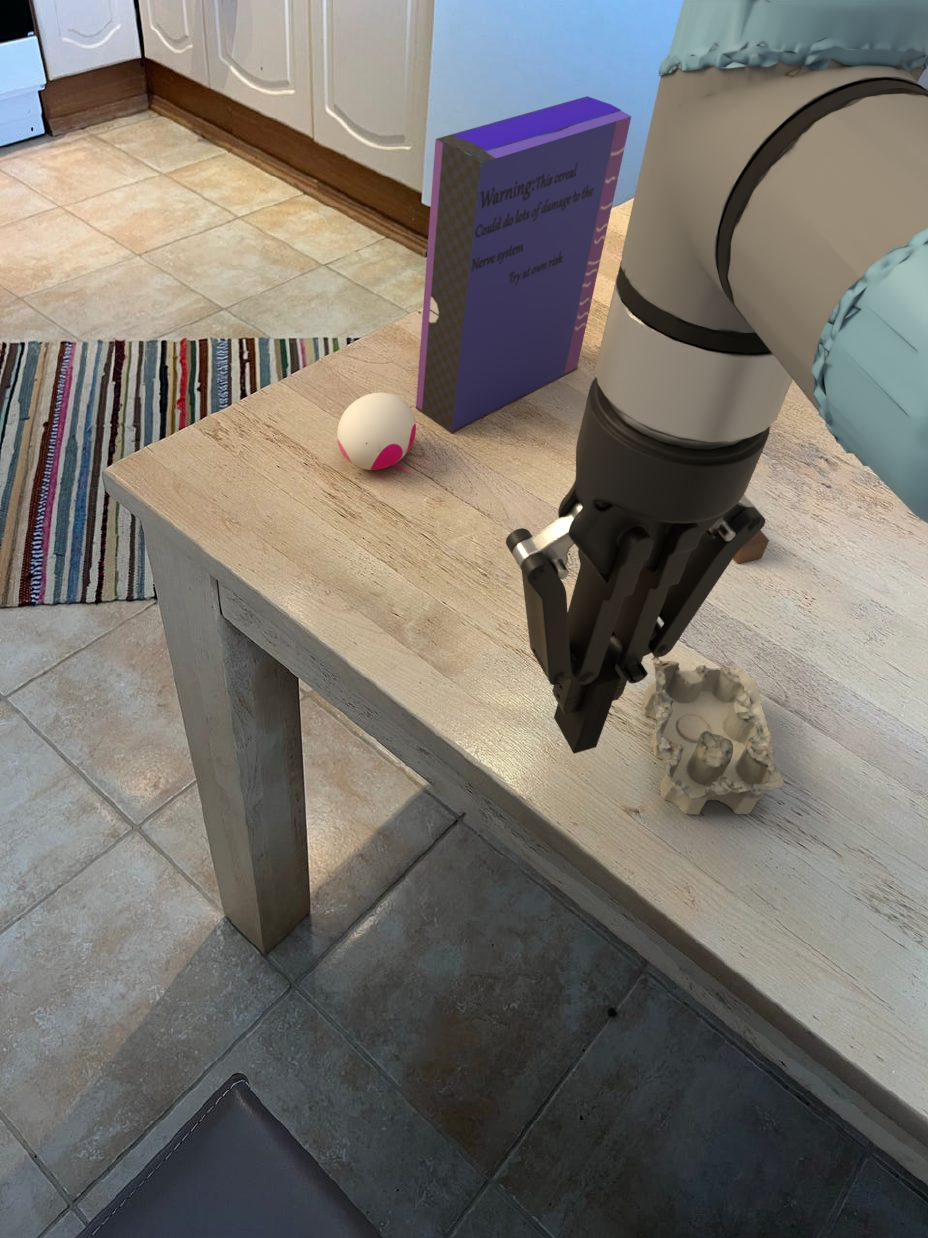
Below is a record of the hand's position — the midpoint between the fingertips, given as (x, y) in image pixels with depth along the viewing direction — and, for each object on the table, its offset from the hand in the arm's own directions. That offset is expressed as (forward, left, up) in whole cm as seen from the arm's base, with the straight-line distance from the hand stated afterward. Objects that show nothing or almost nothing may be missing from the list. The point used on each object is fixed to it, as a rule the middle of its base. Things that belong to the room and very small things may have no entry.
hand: (574, 732), depth 56 cm
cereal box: (+43, -14, -7) cm, 46 cm away
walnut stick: (+25, -25, -7) cm, 36 cm away
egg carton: (0, -11, -7) cm, 13 cm away
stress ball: (+35, 0, -7) cm, 36 cm away
